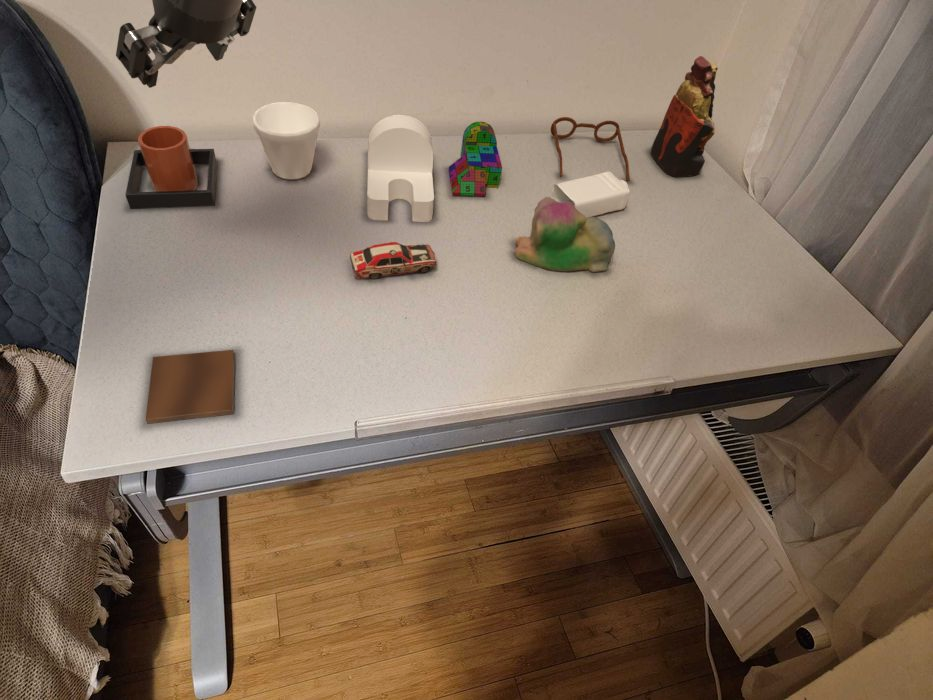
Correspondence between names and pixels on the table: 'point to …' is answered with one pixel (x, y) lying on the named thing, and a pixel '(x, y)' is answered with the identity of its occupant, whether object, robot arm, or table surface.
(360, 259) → the race car
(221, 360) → the walnut board
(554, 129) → the glasses
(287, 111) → the cup
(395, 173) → the bracket
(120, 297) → the table surface
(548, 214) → the sculpture
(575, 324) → the table surface
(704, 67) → the statue
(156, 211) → the table surface
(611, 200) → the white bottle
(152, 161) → the terracotta cup
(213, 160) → the dark grey square frame
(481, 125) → the multicoloured toy chair
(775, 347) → the table surface
